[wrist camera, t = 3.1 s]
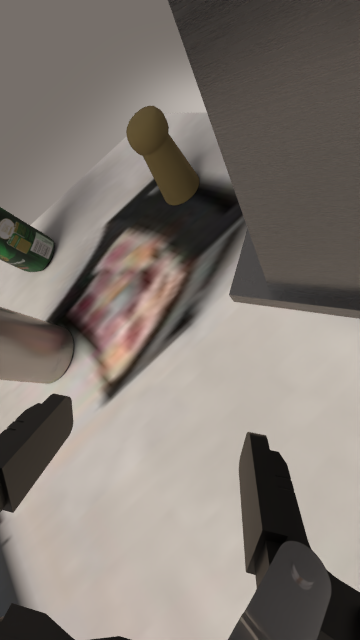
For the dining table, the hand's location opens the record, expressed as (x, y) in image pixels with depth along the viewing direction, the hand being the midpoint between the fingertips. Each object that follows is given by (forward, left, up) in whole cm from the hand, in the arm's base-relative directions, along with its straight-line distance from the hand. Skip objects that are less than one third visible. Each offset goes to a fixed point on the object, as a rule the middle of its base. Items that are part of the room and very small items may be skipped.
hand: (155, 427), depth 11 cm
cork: (-17, +29, -16) cm, 37 cm away
